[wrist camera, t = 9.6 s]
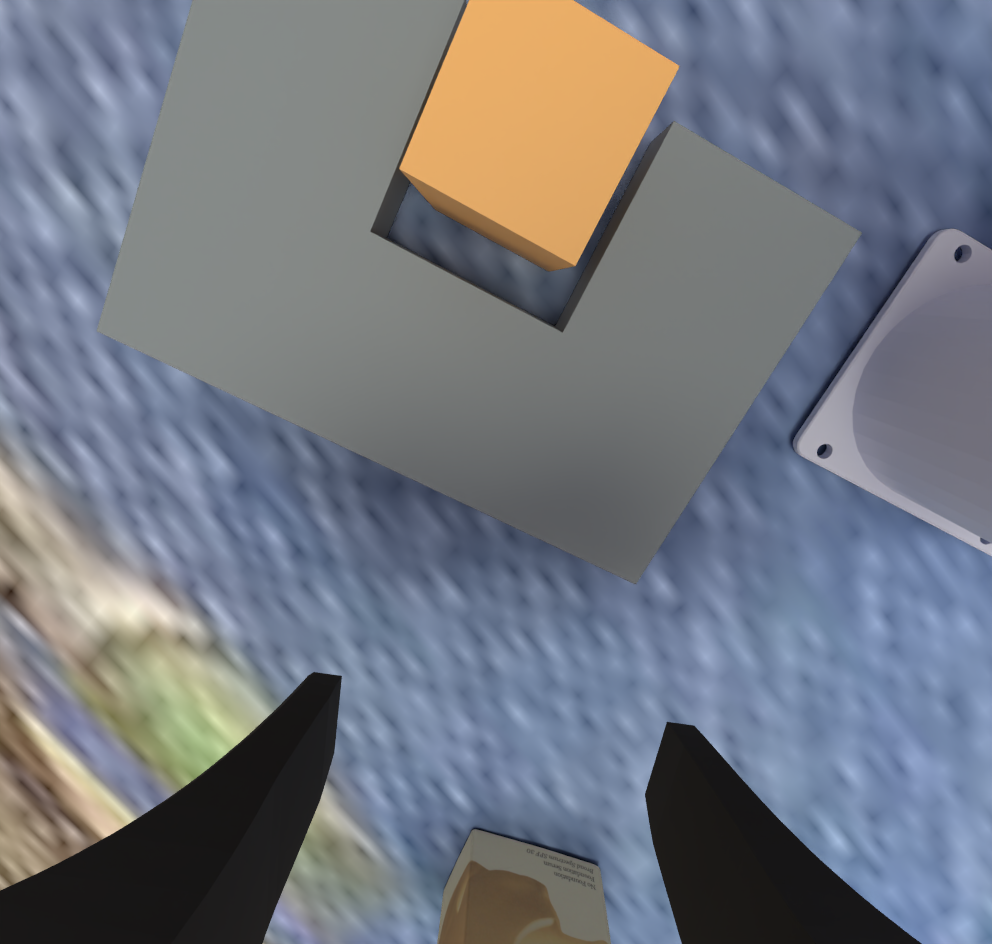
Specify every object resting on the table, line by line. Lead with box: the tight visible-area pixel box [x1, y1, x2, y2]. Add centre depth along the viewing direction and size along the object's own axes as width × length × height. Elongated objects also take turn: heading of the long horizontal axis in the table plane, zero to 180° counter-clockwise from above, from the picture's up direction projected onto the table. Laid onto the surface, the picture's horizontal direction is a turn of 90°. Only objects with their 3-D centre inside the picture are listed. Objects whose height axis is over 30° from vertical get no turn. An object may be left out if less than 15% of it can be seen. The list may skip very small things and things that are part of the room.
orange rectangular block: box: [399, 0, 679, 272], centre depth 15 cm, size 4×4×7 cm
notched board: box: [97, 0, 862, 584], centre depth 18 cm, size 18×12×2 cm, turn 63°
